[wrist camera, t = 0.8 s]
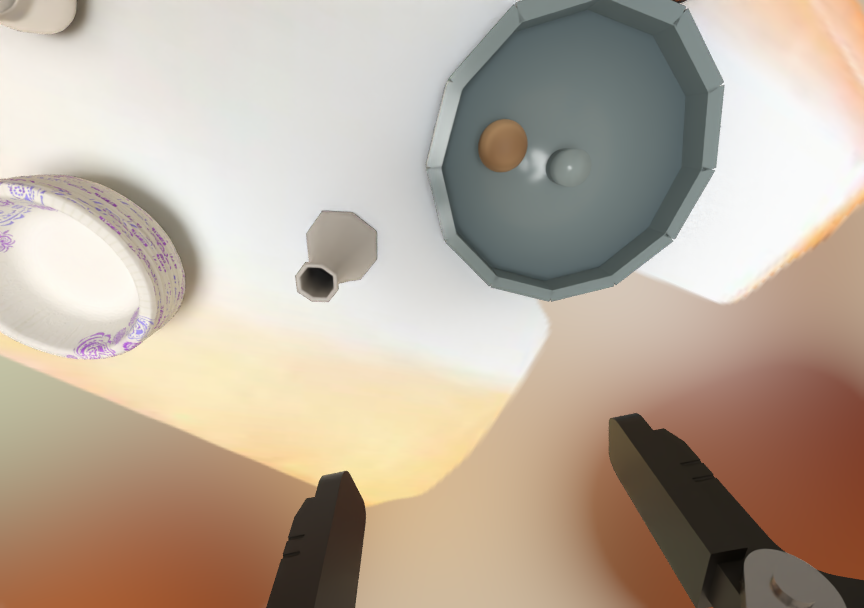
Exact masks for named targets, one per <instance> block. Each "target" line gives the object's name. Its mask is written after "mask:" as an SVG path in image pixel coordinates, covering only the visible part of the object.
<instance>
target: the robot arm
mask: <svg viewBox="0 0 864 608" xmlns="http://www.w3.org/2000/svg"><path fill="white" fill-rule="evenodd" d="M609 457H610V461H611V464H612V466H613V469H614V471H615V473H616V475H617V476H618V478H619V480H620V482H621V483H622V485H623V486H624V488H625V490H626V491H627V493H628V495H629V497H630V498H631V500H632V502H633V503H634V505H635V507H636V508H637V510H638V512H639V513H640V515H641V517H642V518H643V520H644V522H645V523H646V525H647V527H648V529H649V530H650V532H651V534H652V535H653V537H654V539H655V540H656V542H657V544H658V545H659V547H660V549H661V550H662V552H663V554H664V555H665V557H666V559H667V560H668V562H669V564H670V565H671V567H672V569H673V570H674V572H675V574H676V575H677V577H678V579H679V581H680V582H681V584H682V586H683V587H684V589H685V591H686V592H687V594H688V595H689V597H690V599H691V601H692V602H693V604H694V606H695V607H696V608H708V607H713V608H864V580H859V579H853V578H847V577H841V576H836V575H831V574H828V573H824V572H822V571H819V570H816V569H815V568H813V567H812V566H810V565H809V564H807V563H806V562H804V561H802V560H800V559H799V558H797V557H795V556H793V555H790V554H788V553H786V552H785V551H783V550H782V549H781V548H780V547H778V546H777V545H776V544H775V543H774V542H773V541H772V540H771V539H770V538H769V537H768V536H767V535H766V533H765V532H764V531H763V530H762V529H761V528H760V527H759V526H758V524H757V523H756V522H755V521H754V520H753V519H752V518H751V517H750V515H749V514H748V513H747V512H746V511H745V510H744V509H743V507H742V506H741V505H740V504H739V503H738V502H737V501H736V500H735V498H734V497H733V496H732V495H731V494H730V493H729V492H728V491H727V489H726V488H725V487H724V486H723V485H722V484H721V483H720V481H719V480H718V479H717V478H715V477H714V476H713V473H712V472H711V471H710V470H709V469H708V468H707V467H706V466H705V465H704V463H701V461H700V459H699V458H698V456H697V455H696V454H695V453H694V452H693V451H692V450H691V449H690V447H689V446H688V445H687V444H686V443H685V442H684V441H683V440H681V439H679V438H678V437H676V436H675V435H673V434H672V433H670V432H669V431H667V430H666V429H658V430H652V429H651V427H650V426H649V425H648V424H647V422H646V421H645V420H644V418H643V417H642V416H641V415H639V414H637V413H634V414H629V415H624V416H619V417H615V418H610V420H609ZM365 523H366V511H365V505H364V501H363V499H362V497H361V495H360V493H359V491H358V489H357V487H356V485H355V483H354V481H353V479H352V477H351V475H350V474H349V472H348V471H343V472H338V473H333V474H328V475H324V476H322V477H321V479H320V481H319V484H318V487H317V491H316V495H315V497H312V498H307V499H306V500H305V502H304V503H303V505H302V506H301V508H300V509H299V511H298V512H297V514H296V516H295V517H294V520H293V523H292V527H291V530H290V533H289V536H288V538H289V540H288V541H287V543H286V546H285V549H284V552H283V559H281V562H280V565H279V569H278V572H277V575H276V578H275V581H274V584H273V588H272V591H271V594H270V597H269V601H268V604H267V607H266V608H355V603H356V595H357V586H358V579H359V571H360V563H361V554H362V547H363V539H364V531H365Z"/></svg>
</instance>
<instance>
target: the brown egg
mask: <svg viewBox="0 0 864 608" xmlns="http://www.w3.org/2000/svg"><path fill="white" fill-rule="evenodd" d="M527 145H528V142H527V136H526V133H525V131H524V129H523V128H522V127H521V126H520V125H519V124H518V123H517V122H515V121H513V120H509V119H501V120H497V121H495V122H493V123H491V124H490V125H488V126H487V127H486V128H485V130H484V131H483V133H482V134H481V136H480V139H479V144H478V152H479V157H480V159H481V161H482V163H483V164H484V165H485V166H486V167H487V168H488V169H490V170H492V171H494V172H507V171H510V170H512V169H514V168H515V167H517V166H518V165H519V164H520V163H521V161H522V160H523V158H524V157H525V154H526V151H527Z"/></svg>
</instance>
